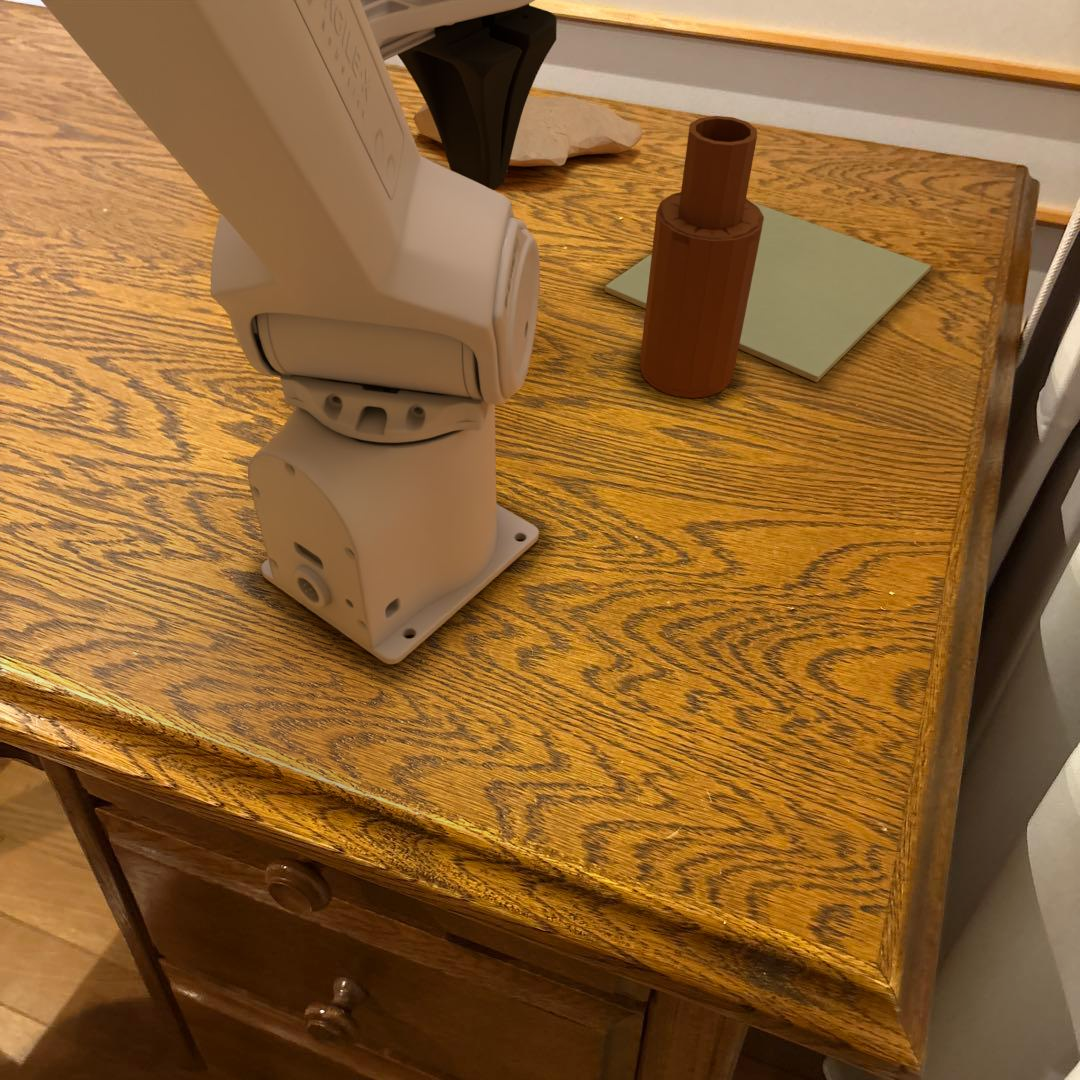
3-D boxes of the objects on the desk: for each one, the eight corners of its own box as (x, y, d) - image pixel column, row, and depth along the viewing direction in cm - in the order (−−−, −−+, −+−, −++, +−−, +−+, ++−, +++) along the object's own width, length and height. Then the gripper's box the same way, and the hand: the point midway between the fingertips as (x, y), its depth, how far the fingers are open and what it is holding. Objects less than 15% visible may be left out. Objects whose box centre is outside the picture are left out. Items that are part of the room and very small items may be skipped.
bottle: (701, 410, 51) (743, 165, 41) (621, 373, 53) (645, 131, 44) (750, 366, 54) (800, 127, 44) (672, 332, 56) (705, 98, 46)
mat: (816, 383, 53) (818, 376, 52) (604, 291, 59) (604, 285, 58) (929, 271, 61) (931, 265, 61) (733, 201, 67) (734, 195, 67)
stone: (669, 113, 67) (457, 130, 62) (664, 168, 69) (458, 189, 65) (584, 70, 78) (398, 82, 73) (582, 119, 80) (401, 134, 75)
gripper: (507, -226, 41) (511, 101, 51) (233, -149, 33) (302, 217, 43) (649, -198, 38) (623, 143, 48) (385, -106, 30) (421, 275, 40)
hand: (479, 182), depth 46 cm, fingers closed
